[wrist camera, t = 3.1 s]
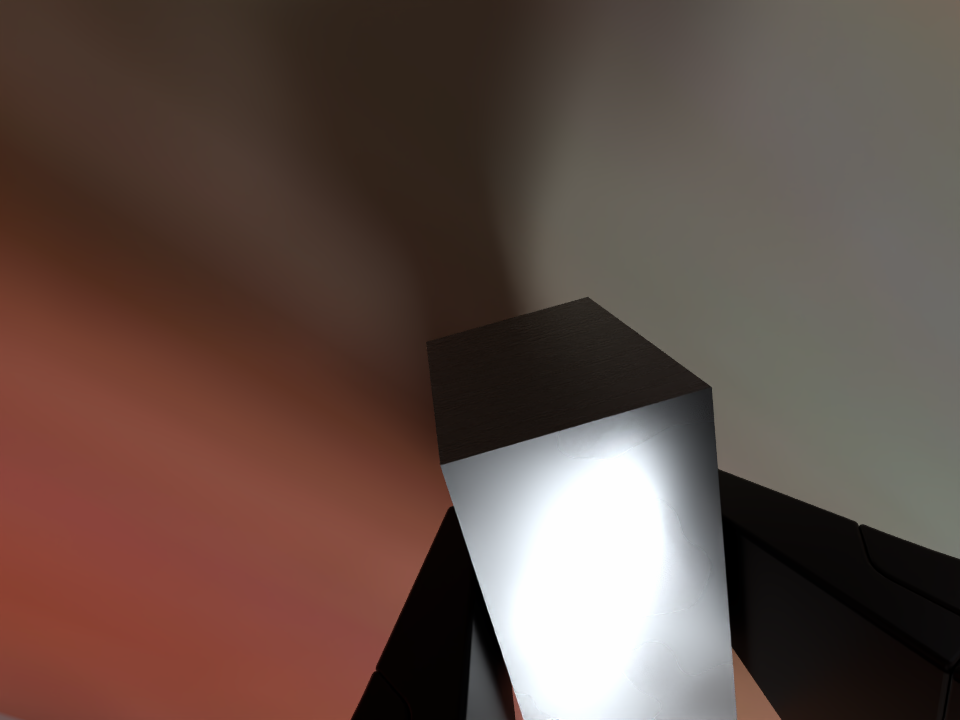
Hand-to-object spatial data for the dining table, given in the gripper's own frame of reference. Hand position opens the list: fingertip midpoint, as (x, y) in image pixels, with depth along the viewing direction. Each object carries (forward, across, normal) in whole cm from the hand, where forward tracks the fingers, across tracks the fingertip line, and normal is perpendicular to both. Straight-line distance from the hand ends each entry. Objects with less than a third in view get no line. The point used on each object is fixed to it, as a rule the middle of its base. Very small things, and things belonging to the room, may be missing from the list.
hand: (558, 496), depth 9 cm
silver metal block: (+1, 0, 0) cm, 1 cm away
